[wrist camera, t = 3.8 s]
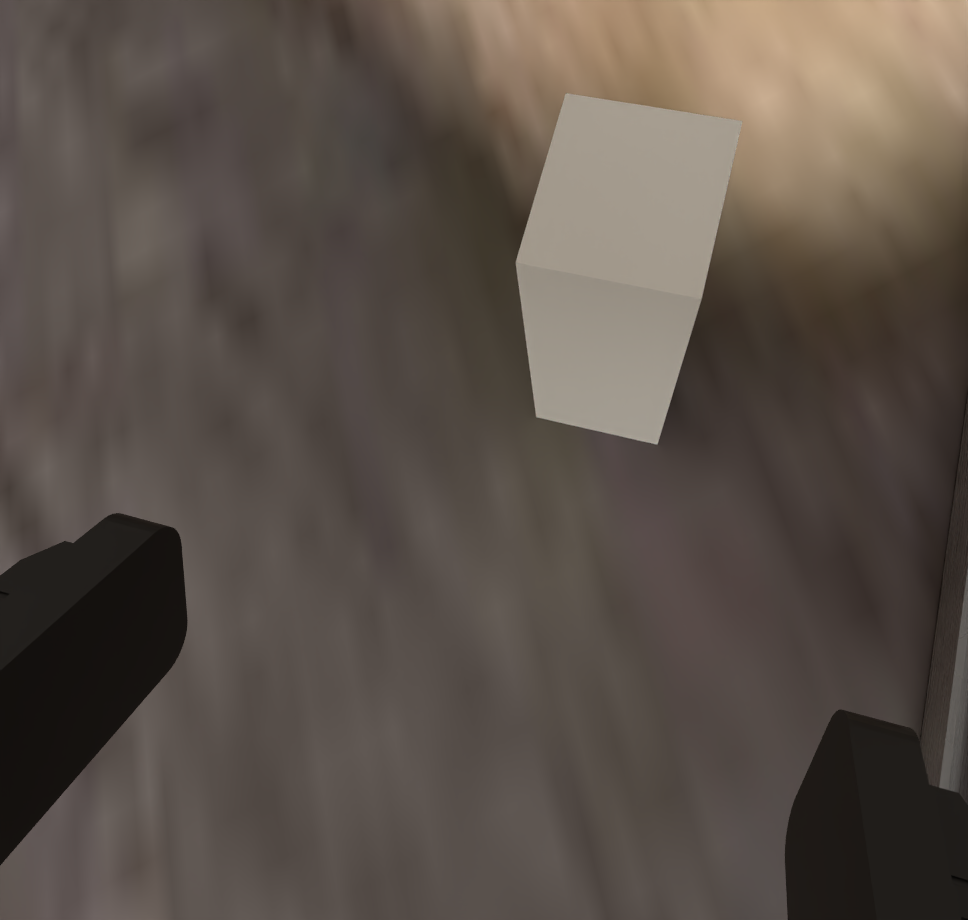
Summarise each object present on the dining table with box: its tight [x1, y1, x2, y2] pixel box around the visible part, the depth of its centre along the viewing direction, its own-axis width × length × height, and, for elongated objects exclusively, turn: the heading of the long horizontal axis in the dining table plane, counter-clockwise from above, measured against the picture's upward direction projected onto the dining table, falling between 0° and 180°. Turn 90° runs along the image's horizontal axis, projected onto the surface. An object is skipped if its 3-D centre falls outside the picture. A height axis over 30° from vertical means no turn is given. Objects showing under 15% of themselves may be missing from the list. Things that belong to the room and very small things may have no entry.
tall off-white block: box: [516, 93, 742, 444], centre depth 21 cm, size 4×4×9 cm
